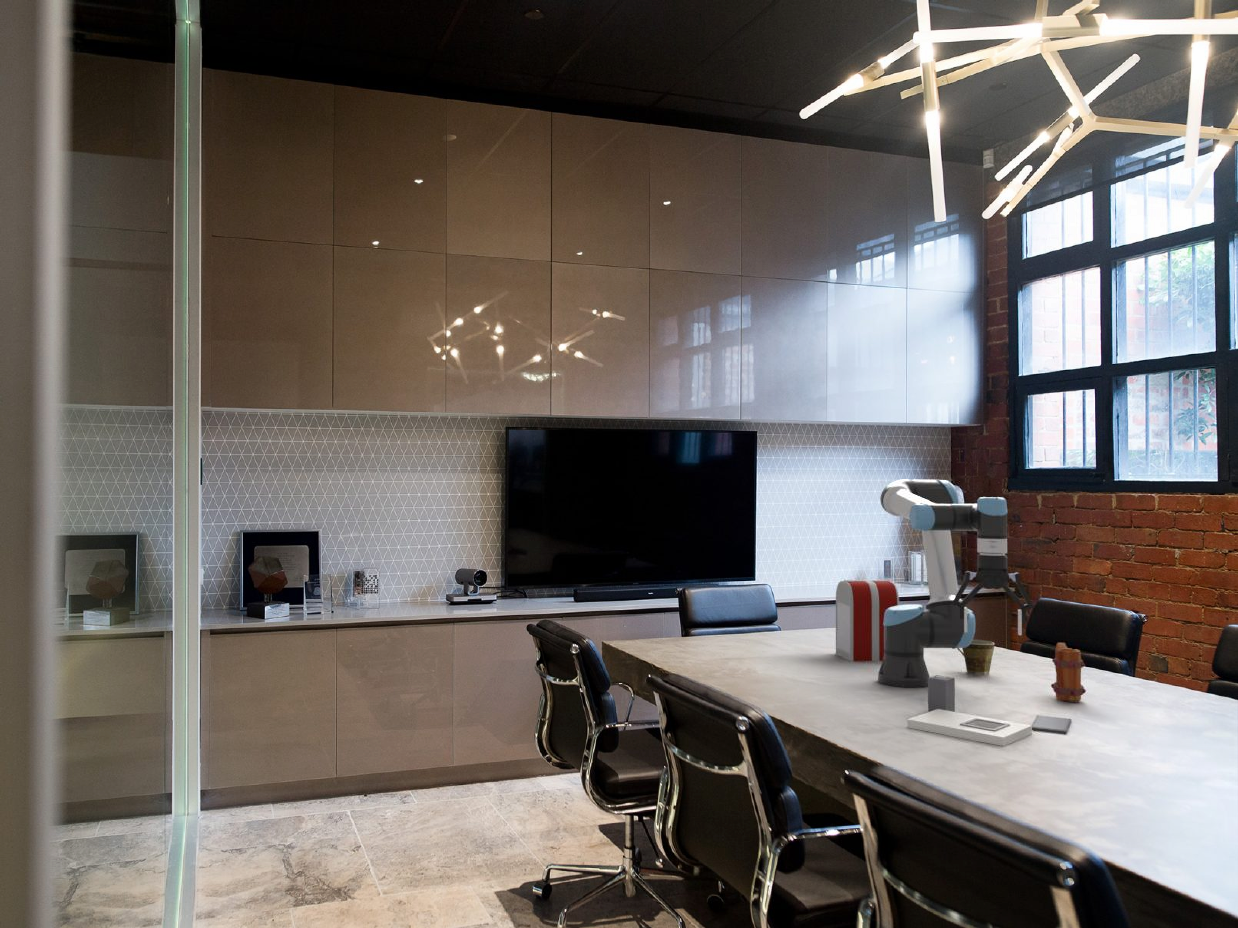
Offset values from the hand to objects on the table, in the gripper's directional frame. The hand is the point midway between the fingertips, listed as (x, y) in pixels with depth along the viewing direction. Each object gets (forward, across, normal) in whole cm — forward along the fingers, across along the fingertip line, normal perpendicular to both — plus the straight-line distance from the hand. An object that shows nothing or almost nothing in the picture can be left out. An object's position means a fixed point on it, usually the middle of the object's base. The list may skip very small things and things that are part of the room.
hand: (992, 633), depth 256 cm
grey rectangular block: (+20, -13, -9) cm, 26 cm away
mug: (+20, +20, +21) cm, 35 cm away
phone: (+21, +13, -15) cm, 29 cm away
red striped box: (+20, -39, +70) cm, 82 cm away
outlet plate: (+20, -6, -28) cm, 35 cm away
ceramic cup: (+20, -4, +53) cm, 57 cm away
